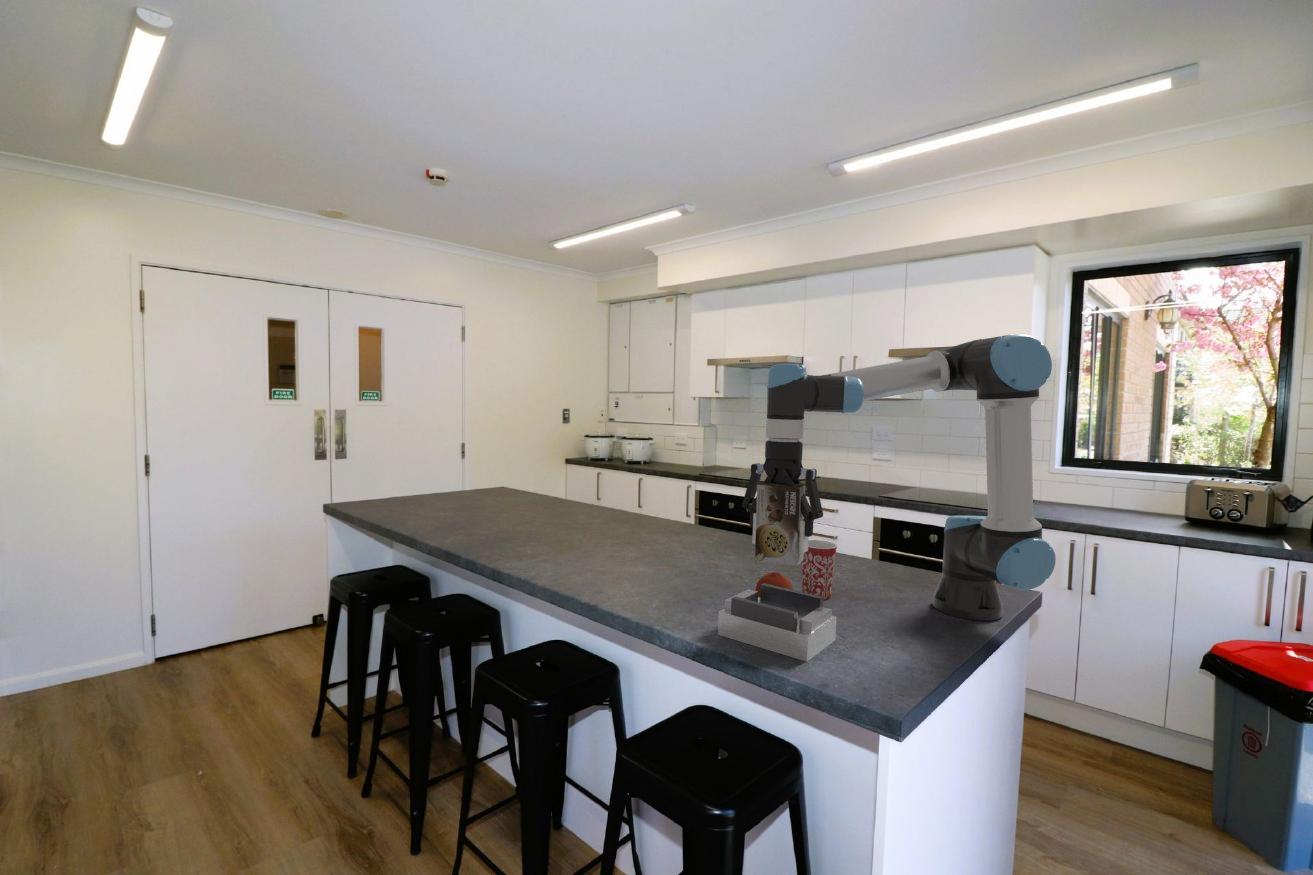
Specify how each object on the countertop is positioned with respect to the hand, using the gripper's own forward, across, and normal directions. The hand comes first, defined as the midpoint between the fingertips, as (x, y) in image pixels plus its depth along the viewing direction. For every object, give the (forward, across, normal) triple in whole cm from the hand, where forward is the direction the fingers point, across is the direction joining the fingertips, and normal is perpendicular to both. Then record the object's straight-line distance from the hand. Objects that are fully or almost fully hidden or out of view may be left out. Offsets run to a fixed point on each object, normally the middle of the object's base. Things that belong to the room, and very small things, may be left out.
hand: (779, 547), depth 127 cm
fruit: (+19, +10, -18) cm, 28 cm away
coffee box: (+3, 0, 0) cm, 3 cm away
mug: (+19, +5, -34) cm, 39 cm away
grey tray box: (+19, 0, 0) cm, 19 cm away
